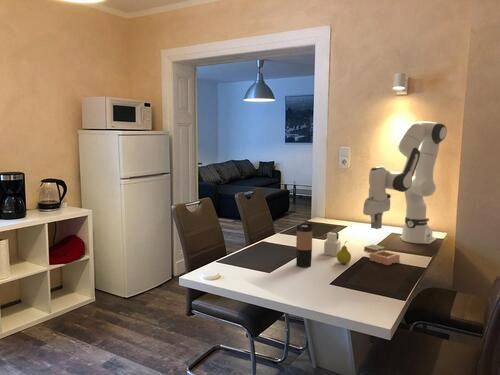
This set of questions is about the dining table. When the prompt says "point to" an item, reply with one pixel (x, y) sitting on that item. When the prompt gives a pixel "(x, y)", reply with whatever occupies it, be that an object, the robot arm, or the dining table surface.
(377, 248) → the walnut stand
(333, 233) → the medicine bottle
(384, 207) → the robot arm
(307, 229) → the travel mug
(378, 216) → the metal peg
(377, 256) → the terracotta socket
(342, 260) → the fruit
